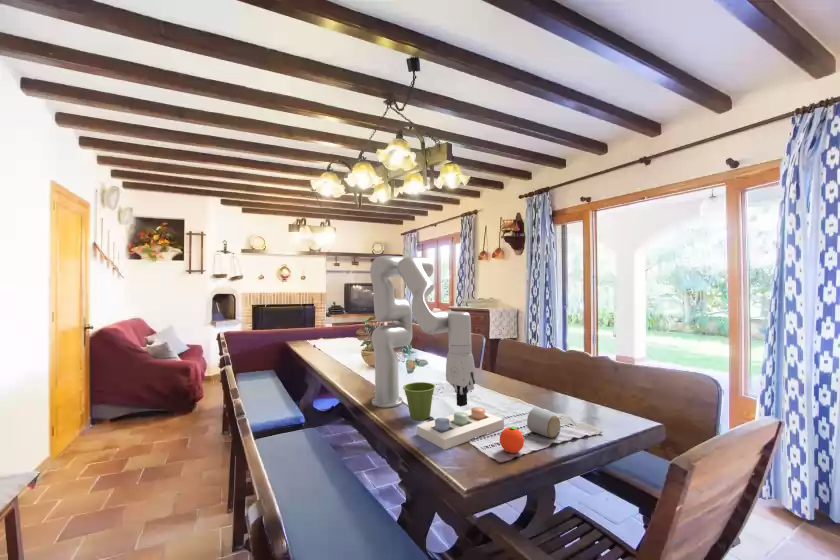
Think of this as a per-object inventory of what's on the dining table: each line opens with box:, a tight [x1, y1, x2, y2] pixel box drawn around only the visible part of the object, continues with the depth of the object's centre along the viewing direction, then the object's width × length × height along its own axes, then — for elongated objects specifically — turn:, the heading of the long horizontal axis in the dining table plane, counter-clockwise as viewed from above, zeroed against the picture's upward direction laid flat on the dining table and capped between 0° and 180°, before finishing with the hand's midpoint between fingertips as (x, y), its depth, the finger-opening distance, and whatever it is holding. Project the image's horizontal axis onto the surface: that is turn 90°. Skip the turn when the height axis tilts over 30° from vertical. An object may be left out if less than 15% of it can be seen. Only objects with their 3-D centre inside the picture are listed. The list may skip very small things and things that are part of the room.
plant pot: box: [402, 381, 436, 421], centre depth 140 cm, size 12×12×11 cm
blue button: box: [434, 417, 450, 433], centre depth 122 cm, size 5×5×3 cm
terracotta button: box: [470, 406, 486, 421], centre depth 132 cm, size 5×5×3 cm
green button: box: [453, 411, 468, 427], centre depth 127 cm, size 5×5×3 cm
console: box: [416, 408, 505, 450], centre depth 127 cm, size 14×26×3 cm, turn 126°
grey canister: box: [526, 407, 561, 438], centre depth 125 cm, size 11×8×8 cm
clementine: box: [499, 426, 525, 454], centre depth 112 cm, size 8×7×7 cm
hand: (462, 405), depth 126 cm, fingers closed
